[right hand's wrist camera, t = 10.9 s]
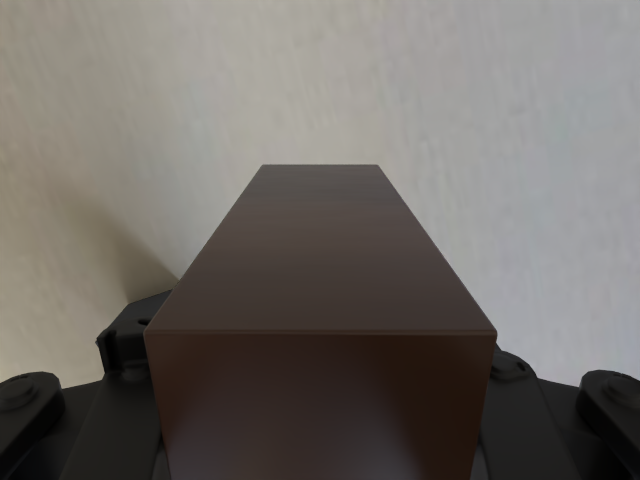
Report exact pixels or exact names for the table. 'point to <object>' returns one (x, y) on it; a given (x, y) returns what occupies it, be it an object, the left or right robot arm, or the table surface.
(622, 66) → the table surface
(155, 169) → the table surface
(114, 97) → the table surface
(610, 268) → the table surface
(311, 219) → the beam
